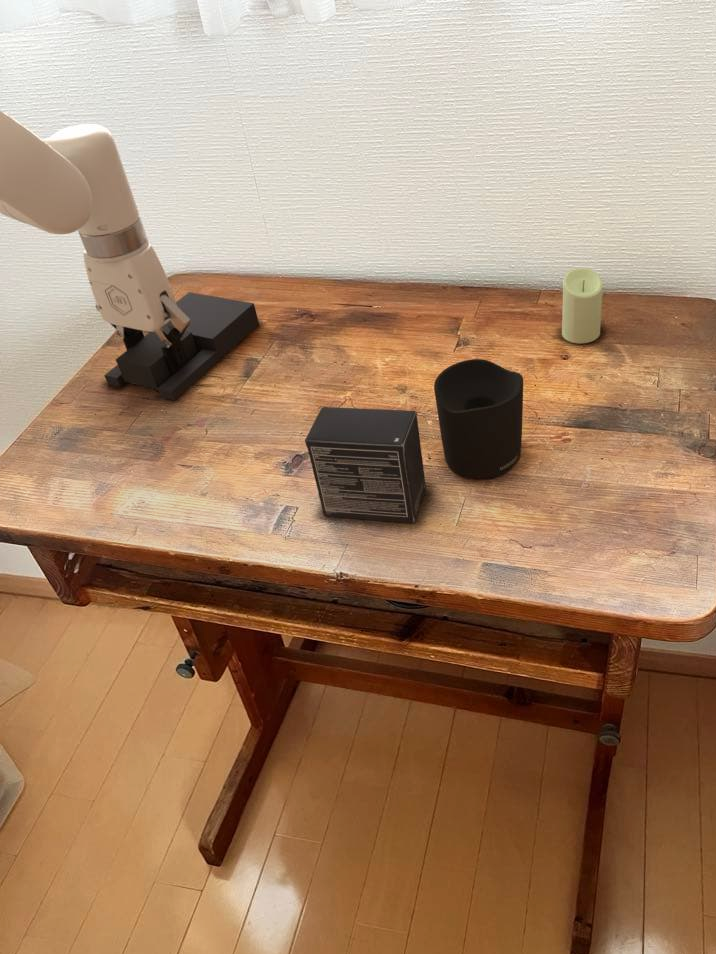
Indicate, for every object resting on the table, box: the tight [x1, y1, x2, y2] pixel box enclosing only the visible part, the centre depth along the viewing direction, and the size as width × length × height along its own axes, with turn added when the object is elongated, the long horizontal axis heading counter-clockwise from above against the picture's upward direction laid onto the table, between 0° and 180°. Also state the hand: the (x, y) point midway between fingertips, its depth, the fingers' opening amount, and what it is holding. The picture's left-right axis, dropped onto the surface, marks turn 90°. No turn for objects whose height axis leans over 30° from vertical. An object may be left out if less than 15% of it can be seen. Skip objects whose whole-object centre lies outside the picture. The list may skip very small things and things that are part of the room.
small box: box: [304, 406, 427, 524], centre depth 88 cm, size 11×6×10 cm, turn 77°
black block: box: [115, 327, 198, 390], centre depth 114 cm, size 9×6×4 cm, turn 153°
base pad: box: [103, 291, 260, 401], centre depth 117 cm, size 20×12×4 cm, turn 153°
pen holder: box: [433, 358, 524, 480], centre depth 91 cm, size 9×9×10 cm
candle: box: [561, 267, 604, 345], centre depth 108 cm, size 5×5×8 cm
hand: (159, 362), depth 114 cm, fingers closed on black block, 6 cm apart
